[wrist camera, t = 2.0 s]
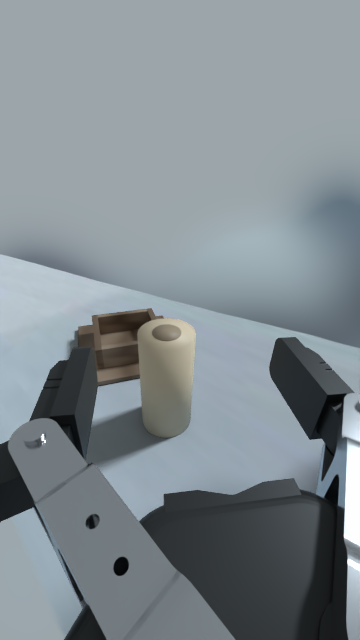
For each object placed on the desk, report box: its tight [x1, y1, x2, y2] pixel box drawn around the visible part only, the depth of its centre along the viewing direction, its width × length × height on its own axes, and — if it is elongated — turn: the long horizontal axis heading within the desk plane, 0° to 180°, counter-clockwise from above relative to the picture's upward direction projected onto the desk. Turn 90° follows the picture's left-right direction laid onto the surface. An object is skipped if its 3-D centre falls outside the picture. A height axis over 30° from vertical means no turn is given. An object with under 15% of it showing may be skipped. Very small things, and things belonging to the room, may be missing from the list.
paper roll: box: [137, 318, 196, 438], centre depth 27 cm, size 5×5×11 cm
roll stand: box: [78, 308, 163, 386], centre depth 40 cm, size 14×14×4 cm
